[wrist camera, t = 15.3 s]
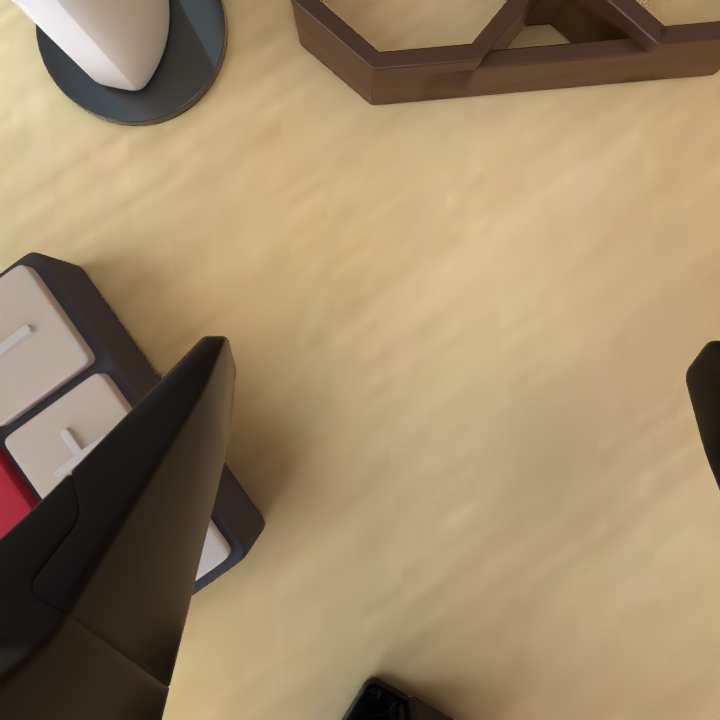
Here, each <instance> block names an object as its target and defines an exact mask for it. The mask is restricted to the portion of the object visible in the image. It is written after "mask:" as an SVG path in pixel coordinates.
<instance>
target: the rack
mask: <svg viewBox="0 0 720 720" xmlns="http://www.w3.org/2000/svg"><path fill="white" fill-rule="evenodd" d="M291 1H292V6H293V11H294V16H295V21H296V26H297V31H298V36H299V41H300V43H301V45H302V46H303V47H305V48H306V49H307V50H308V51H309V52H310V53H312V54H313V55H314V56H315V57H316V58H318V59H319V60H320V61H321V62H322V63H323V64H325V65H326V66H327V67H328V68H329V69H330V70H332V71H333V72H334V73H335V74H336V75H337V76H339V77H340V78H341V79H342V80H343V81H344V82H346V83H347V84H348V85H349V86H350V87H351V88H353V89H354V90H355V91H356V92H357V93H358V94H360V95H361V96H362V97H363V98H364V99H365V100H367V101H368V102H369V103H370V104H373V105H377V104H389V103H400V102H411V101H422V100H433V99H444V98H455V97H466V96H477V95H488V94H499V93H510V92H521V91H533V90H544V89H555V88H566V87H577V86H588V85H599V84H610V83H622V82H633V81H644V80H655V79H666V78H677V77H688V76H699V75H710V74H714V73H715V72H717V71H718V70H719V69H720V21H717V22H706V23H695V24H684V25H673V26H664V25H663V24H662V23H660V22H659V21H658V20H657V19H656V18H655V17H654V16H652V15H651V14H650V13H649V12H648V11H647V10H646V9H644V8H643V7H642V6H641V5H640V4H639V3H638V2H637V1H635V0H508V1H507V2H506V3H505V4H504V5H503V7H502V8H501V9H500V10H499V11H498V13H497V14H496V15H495V16H494V17H493V19H492V20H491V21H490V22H489V24H488V25H487V26H486V27H485V28H484V30H483V31H482V32H481V33H480V34H479V36H478V37H477V38H476V39H475V40H474V42H473V43H472V44H464V45H453V46H442V47H431V48H420V49H409V50H398V51H387V52H378V51H377V50H376V49H375V48H374V47H373V46H371V45H370V44H369V43H368V42H367V41H366V40H365V39H363V38H362V37H361V36H360V35H359V34H358V33H356V32H355V31H354V30H353V29H352V28H351V27H349V26H348V25H347V24H346V23H345V22H344V21H342V20H341V19H340V18H339V17H338V16H337V15H335V14H334V13H333V12H332V11H331V10H330V9H328V8H327V7H326V6H325V5H324V4H323V3H321V2H320V1H319V0H291ZM545 23H551V24H552V25H553V26H554V27H556V28H557V29H558V30H559V31H560V32H561V33H562V34H564V35H565V36H566V37H567V38H568V39H569V40H570V41H572V42H573V43H569V44H558V45H547V46H536V47H525V48H514V49H505V48H506V47H507V46H508V45H509V43H510V42H511V41H512V40H513V39H514V37H515V36H516V35H517V34H518V33H519V31H520V30H521V29H522V28H523V27H524V25H534V24H545Z"/></svg>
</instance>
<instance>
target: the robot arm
mask: <svg viewBox="0 0 720 720" xmlns="http://www.w3.org/2000/svg"><path fill="white" fill-rule="evenodd" d="M235 380H236V367H235V362H234V359H233V355H232V351H231V347H230V343H229V340H228V339H227V337H225V336H205V337H203V338H202V339H201V340H200V341H199V342H198V343H197V344H196V345H195V346H194V347H193V348H192V349H191V350H190V351H189V352H188V353H187V354H186V355H185V356H184V357H183V358H182V359H181V360H180V361H179V362H178V363H177V364H176V365H175V366H174V367H173V368H172V369H171V370H170V371H169V372H168V373H167V374H166V375H165V376H164V377H163V378H162V379H161V380H160V381H159V382H158V383H157V384H156V385H155V386H154V388H153V389H152V390H151V391H150V392H149V393H148V394H147V395H146V396H145V397H144V398H143V399H142V400H141V401H140V402H139V403H138V404H137V405H136V406H135V407H134V408H133V409H132V410H131V411H130V412H129V413H128V414H127V415H126V416H125V417H124V418H123V419H122V420H121V421H120V422H119V423H118V424H117V425H116V426H115V427H114V428H113V429H112V430H111V431H110V432H109V433H108V434H107V435H106V436H105V437H104V438H103V439H102V440H101V441H100V442H99V443H98V444H97V445H96V446H95V447H94V448H93V449H92V450H91V451H90V452H89V453H88V454H87V455H86V456H85V457H84V458H83V459H82V460H81V462H80V463H79V464H78V465H77V466H76V467H75V468H74V469H73V470H72V471H71V474H68V475H66V476H65V477H64V478H63V480H62V481H61V482H60V483H59V484H58V485H57V486H56V487H55V488H54V489H53V490H52V491H51V492H50V493H49V494H48V495H47V496H46V497H44V498H43V499H42V500H41V501H40V502H39V503H38V504H37V505H36V506H35V507H34V508H33V509H32V510H31V511H30V512H29V513H28V514H27V515H26V516H25V517H24V518H23V519H22V520H20V521H19V522H18V523H17V524H16V525H15V526H14V527H13V528H12V529H10V530H9V531H8V532H7V533H6V534H5V535H4V536H3V537H1V538H0V720H162V716H163V712H164V708H165V704H166V700H167V696H168V691H169V688H168V686H169V685H170V682H171V678H172V674H173V670H174V666H175V662H176V658H177V654H178V650H179V645H180V641H181V637H182V633H183V629H184V625H185V621H186V617H187V613H188V609H189V604H190V600H191V596H192V592H193V588H194V584H195V580H196V576H197V572H198V568H199V563H200V559H201V555H202V551H203V547H204V543H205V539H206V535H207V531H208V527H209V522H210V518H211V514H212V510H213V506H214V502H215V498H216V494H217V490H218V486H219V481H220V477H221V473H222V469H223V465H224V461H225V457H226V452H227V447H228V440H229V432H230V423H231V414H232V406H233V397H234V388H235ZM686 383H687V387H688V391H689V394H690V398H691V402H692V406H693V410H694V413H695V417H696V421H697V425H698V429H699V432H700V436H701V440H702V443H703V447H704V450H705V453H706V456H707V459H708V462H709V464H710V467H711V469H712V472H713V474H714V477H715V480H716V482H717V485H718V487H719V490H720V341H711V342H709V343H707V344H706V345H705V346H704V348H703V349H702V350H701V352H700V353H699V355H698V356H697V357H696V359H695V360H694V361H693V363H692V364H691V365H690V367H689V368H688V370H687V373H686ZM371 689H377V690H378V692H377V693H371V692H370V690H371ZM342 720H454V719H452V718H450V717H449V716H447V715H445V714H443V713H442V712H440V711H438V710H437V709H435V708H433V707H432V706H430V705H428V704H426V703H425V702H423V701H421V700H420V699H418V698H416V697H409V696H407V695H406V694H404V693H402V692H401V691H399V690H397V689H395V688H394V687H392V686H390V685H389V684H387V683H385V682H383V681H382V680H380V679H378V678H370V679H368V680H367V681H366V682H365V683H364V684H363V686H362V688H361V689H360V691H359V693H358V694H357V696H356V697H355V699H354V701H353V702H352V704H351V706H350V707H349V709H348V710H347V712H346V714H345V715H344V717H343V719H342Z"/></svg>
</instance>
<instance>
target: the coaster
mask: <svg viewBox="0 0 720 720" xmlns="http://www.w3.org/2000/svg"><path fill="white" fill-rule="evenodd" d="M169 10H170V17H169V30H168V37H167V41H166V45H165V49H164V52H163V55H162V57H161V60H160V62H159V64H158V67H157V69H156V70H155V72H154V74H153V76H152V77H151V79H150V80H149V82H148V83H147V84H146V86H145V87H143V88H142V89H140V90H135V91H131V90H125V89H119V88H114V87H109V86H105V85H102V84H100V83H98V82H96V81H94V80H93V79H92V78H91V77H90V76H89V75H88V74H87V73H86V72H85V71H84V70H83V69H82V68H81V67H80V66H79V65H78V64H77V63H76V62H75V61H74V60H73V59H72V58H71V57H69V56H68V55H67V54H66V53H65V52H64V51H63V50H62V49H61V48H60V47H59V46H58V45H57V44H56V43H55V42H54V41H53V40H52V39H51V38H50V37H49V36H48V35H47V34H46V33H45V32H44V31H43V30H42V29H41V28H40V27H39V26H38V25H37V24H36V35H37V41H38V46H39V50H40V53H41V56H42V59H43V62H44V64H45V66H46V68H47V70H48V72H49V74H50V76H51V77H52V79H53V80H54V82H55V83H56V85H57V86H58V87H59V88H60V89H61V90H62V92H63V93H64V94H65V95H66V96H67V97H69V98H70V99H71V100H72V101H73V102H74V103H75V104H77V105H78V106H79V107H81V108H82V109H84V110H85V111H86V112H88V113H90V114H92V115H94V116H96V117H98V118H100V119H103V120H106V121H108V122H112V123H117V124H121V125H132V126H138V125H149V124H155V123H159V122H162V121H165V120H168V119H171V118H173V117H175V116H177V115H179V114H181V113H183V112H184V111H186V110H187V109H189V108H190V107H191V106H192V105H194V104H195V103H196V102H197V101H198V100H199V99H200V98H201V97H202V96H203V95H204V94H205V93H206V91H207V90H208V89H209V87H210V86H211V84H212V83H213V81H214V80H215V78H216V76H217V74H218V72H219V70H220V67H221V64H222V61H223V58H224V54H225V49H226V44H227V19H226V14H225V8H224V5H223V2H222V0H169Z"/></svg>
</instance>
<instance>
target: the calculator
mask: <svg viewBox="0 0 720 720" xmlns="http://www.w3.org/2000/svg"><path fill="white" fill-rule="evenodd" d="M159 381H160V379H159V378H158V376H157V375H156V373H155V372H154V371H153V369H152V368H151V366H150V365H149V363H148V362H147V361H146V359H145V358H144V356H143V355H142V353H141V352H140V351H139V349H138V348H137V346H136V345H135V344H134V342H133V341H132V339H131V338H130V336H129V335H128V334H127V332H126V331H125V329H124V328H123V326H122V325H121V324H120V322H119V321H118V319H117V318H116V316H115V315H114V314H113V312H112V311H111V309H110V308H109V307H108V305H107V304H106V302H105V301H104V299H103V298H102V297H101V295H100V294H99V292H98V291H97V289H96V288H95V287H94V285H93V284H92V282H91V281H90V280H89V278H88V277H87V275H86V274H85V272H84V271H83V270H82V269H81V268H80V267H79V266H77V265H74V264H71V263H68V262H65V261H62V260H58V259H55V258H52V257H49V256H46V255H42V254H39V253H29V254H27V255H26V256H24V257H23V258H21V259H20V260H18V261H17V262H16V263H14V264H13V265H12V266H10V267H9V268H8V269H6V270H5V271H4V272H2V273H1V274H0V538H1V537H3V536H4V535H5V534H6V533H7V532H8V531H9V530H10V529H12V528H13V527H14V526H15V525H16V524H17V523H18V522H19V521H20V520H22V519H23V518H24V517H25V516H26V515H27V514H28V513H29V512H30V511H31V510H32V509H33V508H34V507H35V506H36V505H37V504H38V503H39V502H40V501H41V500H42V499H43V498H44V497H46V496H47V495H48V494H49V493H50V492H51V491H52V490H53V489H54V488H55V487H56V486H57V485H58V484H59V483H60V482H61V481H62V480H63V478H64V477H65V476H66V475H68V474H71V471H72V470H73V469H74V468H75V467H76V466H77V465H78V464H79V463H80V462H81V460H82V459H83V458H84V457H85V456H86V455H87V454H88V453H89V452H90V451H91V450H92V449H93V448H94V447H95V446H96V445H97V444H98V443H99V442H100V441H101V440H102V439H103V438H104V437H105V436H106V435H107V434H108V433H109V432H110V431H111V430H112V429H113V428H114V427H115V426H116V425H117V424H118V423H119V422H120V421H121V420H122V419H123V418H124V417H125V416H126V415H127V414H128V413H129V412H130V411H131V410H132V409H133V408H134V407H135V406H136V405H137V404H138V403H139V402H140V401H141V400H142V399H143V398H144V397H145V396H146V395H147V394H148V393H149V392H150V391H151V390H152V389H153V388H154V386H155V385H156V384H157V383H158V382H159ZM264 526H265V522H264V519H263V517H262V516H261V514H260V513H259V512H258V510H257V509H256V507H255V506H254V504H253V503H252V502H251V500H250V499H249V497H248V496H247V494H246V493H245V492H244V490H243V489H242V487H241V486H240V484H239V483H238V482H237V480H236V479H235V477H234V476H233V475H232V473H231V472H230V470H229V469H228V467H227V466H226V465H225V463H224V465H223V469H222V473H221V477H220V481H219V486H218V490H217V494H216V498H215V502H214V506H213V510H212V514H211V518H210V522H209V527H208V531H207V535H206V539H205V543H204V547H203V551H202V555H201V559H200V563H199V568H198V572H197V576H196V580H195V584H194V588H193V592H192V595H194V594H195V593H197V592H198V591H199V590H201V589H202V588H204V587H205V586H207V585H208V584H209V583H211V582H212V581H214V580H215V579H216V578H218V577H219V576H221V575H222V574H224V573H225V572H226V571H228V570H229V569H231V568H232V567H233V566H235V565H236V564H238V563H239V562H240V561H241V560H243V559H244V557H245V556H246V555H247V553H248V552H249V550H250V549H251V547H252V546H253V544H254V543H255V541H256V540H257V538H258V537H259V535H260V534H261V532H262V531H263V529H264Z"/></svg>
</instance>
